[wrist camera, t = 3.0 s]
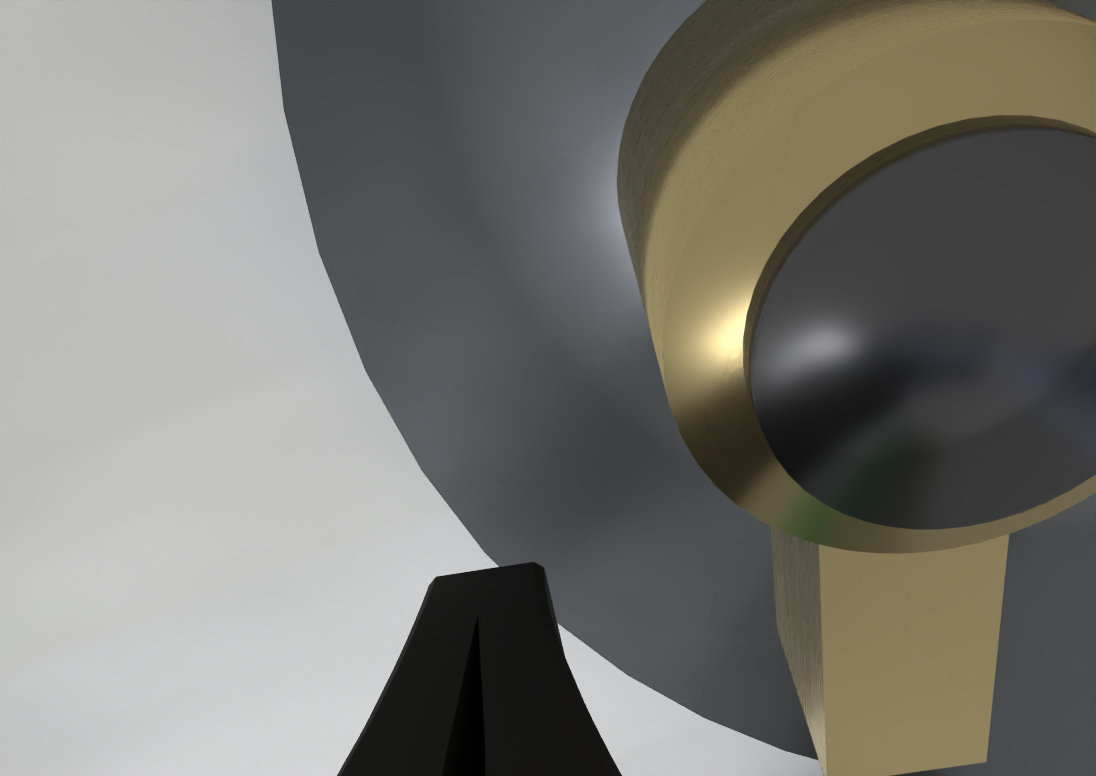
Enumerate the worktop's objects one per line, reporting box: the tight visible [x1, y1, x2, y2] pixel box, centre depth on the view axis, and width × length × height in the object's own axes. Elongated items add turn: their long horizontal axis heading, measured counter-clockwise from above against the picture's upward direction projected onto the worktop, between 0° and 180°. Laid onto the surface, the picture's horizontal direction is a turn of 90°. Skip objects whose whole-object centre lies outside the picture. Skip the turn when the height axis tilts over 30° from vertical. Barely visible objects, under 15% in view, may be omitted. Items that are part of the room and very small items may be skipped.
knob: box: [617, 0, 1096, 776], centre depth 10 cm, size 8×4×4 cm, turn 10°
